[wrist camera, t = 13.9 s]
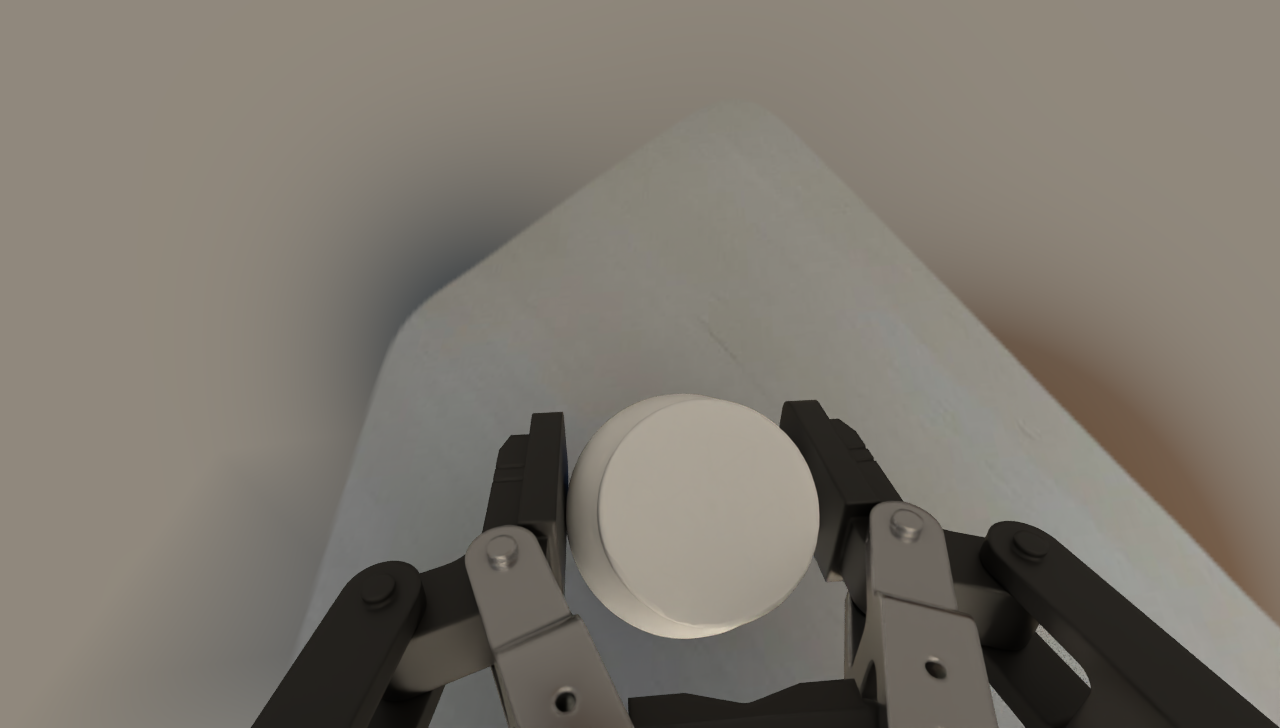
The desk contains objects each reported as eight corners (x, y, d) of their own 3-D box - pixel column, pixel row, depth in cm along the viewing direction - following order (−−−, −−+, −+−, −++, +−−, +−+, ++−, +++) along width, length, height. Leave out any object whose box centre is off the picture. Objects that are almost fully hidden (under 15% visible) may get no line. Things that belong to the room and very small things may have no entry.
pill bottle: (637, 630, 18) (671, 760, 9) (546, 492, 19) (487, 477, 10) (766, 527, 19) (919, 545, 10) (673, 402, 20) (732, 308, 11)
